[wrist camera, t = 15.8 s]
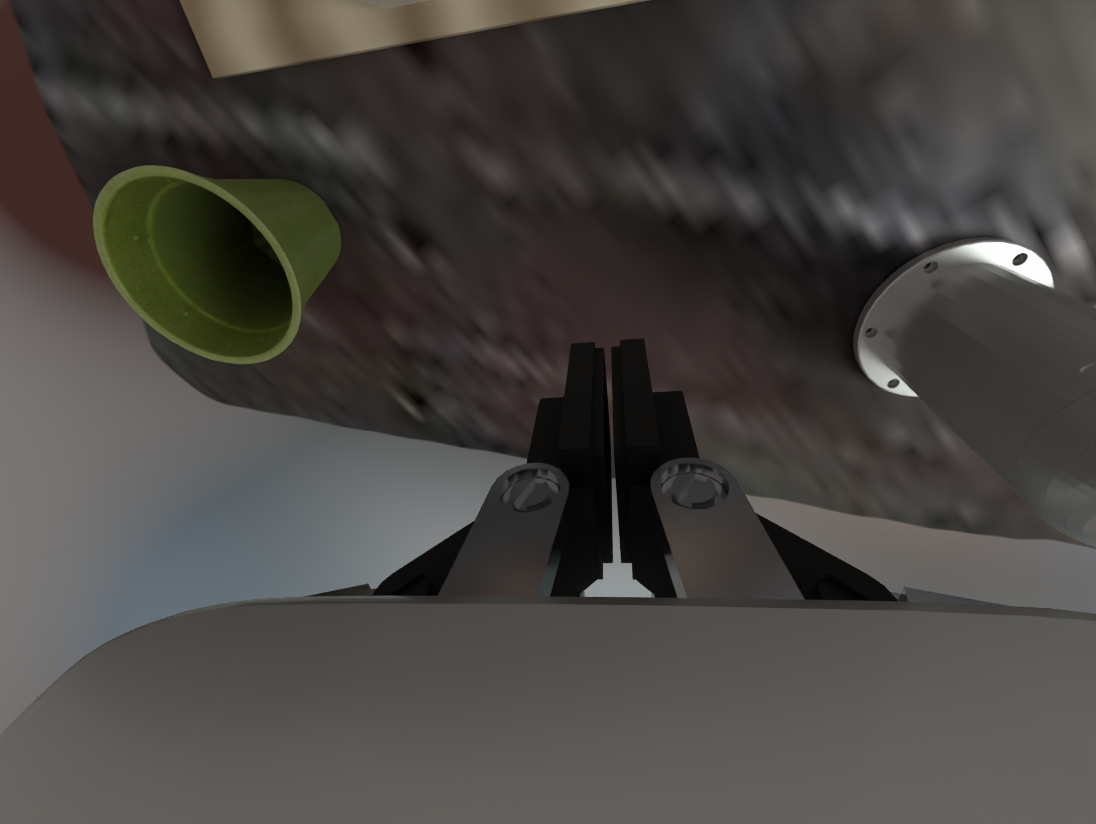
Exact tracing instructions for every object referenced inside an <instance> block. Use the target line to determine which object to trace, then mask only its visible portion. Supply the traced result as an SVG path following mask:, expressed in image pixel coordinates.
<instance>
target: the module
mask: <svg viewBox="0 0 1096 824" xmlns="http://www.w3.org/2000/svg"><path fill="white" fill-rule="evenodd" d="M359 1H362V2H365V3H367V4H370V5H373V6H376V7H379V8H382V9H387V8H392V7H397V6H403V5H408V4H413V3H418V2H424V1H429V0H359Z"/></svg>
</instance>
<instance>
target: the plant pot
mask: <svg viewBox="0 0 1096 824" xmlns="http://www.w3.org/2000/svg"><path fill="white" fill-rule="evenodd" d="M93 229H94V238H95V241H96V246H97V250H98V253H99V255H100V258H101V261H102V263H103V265H104V267H105V269H106V271H107V274H108V275H109V277H110V279H111V280H112V282H113V284H114V285H115V287H116V288H117V289H118V291H119V292H120V294H121V295H122V296H123V298H124V299H125V300H126V301H127V302H128V304H129V305H130V306H131V307H132V308H133V309H134V310H135V311H136V313H137V314H138V315H139V316H140V317H142V318H143V319H144V320H145V321H146V322H147V323H148V324H149V325H150V326H151V327H153V328H154V329H155V330H156V331H158V332H159V333H161V334H162V335H163V336H165V337H166V338H168V339H169V340H171V341H172V342H174V343H176V344H178V345H180V346H181V347H183V348H185V349H187V350H189V351H191V352H193V353H196V354H198V355H200V356H203V357H205V358H209V359H212V360H215V361H221V362H226V363H233V364H252V363H258V362H263V361H266V360H269V359H271V358H273V357H275V356H277V355H278V354H280V353H281V352H282V351H284V350H285V349H286V348H287V347H288V346H289V344H290V343H291V342H292V340H293V339H294V337H295V335H296V333H297V331H298V328H299V325H300V321H301V314H302V312H303V310H304V307H305V304H306V302H307V301H308V299H309V298H310V297H311V295H312V294H313V292H314V291H315V290H316V288H317V287H318V286H319V284H320V283H321V282H322V280H323V279H324V278H325V277H326V275H327V274H328V272H329V271H330V270H331V268H332V267H333V265H334V264H335V263H336V261H337V259H338V257H339V254H340V251H341V234H340V229H339V226H338V223H337V222H336V220H335V219H334V217H333V216H332V214H331V212H330V211H329V209H328V207H327V205H326V203H325V202H324V201H323V200H322V199H321V198H320V197H319V196H318V195H317V194H316V193H314V192H313V191H312V190H310V189H309V188H307V187H306V186H304V185H302V184H300V183H297V182H294V181H291V180H286V179H212V178H208V177H202V176H198V175H196V174H193V173H190V172H188V171H184V170H181V169H177V168H172V167H166V166H156V165H146V166H138V167H134V168H131V169H128V170H125V171H123V172H121V173H119V174H117V175H116V176H114V177H113V178H112V179H110V180H109V181H108V183H107V184H106V185H105V186H104V187H103V189H102V190H101V192H100V193H99V195H98V198H97V200H96V203H95V208H94V213H93Z"/></svg>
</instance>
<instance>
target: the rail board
mask: <svg viewBox="0 0 1096 824" xmlns="http://www.w3.org/2000/svg"><path fill="white" fill-rule="evenodd" d="M643 1H648V0H429V1H424V2H418V3H413V4H408V5H403V6H397V7H392V8H387V9H382V8H379V7H376V6H373V5H370V4H367V3H365V2H362V1H359V0H180V2H181V5H182V7H183V9H184V12H185V14H186V16H187V19H188V21H189V23H190V26H191V28H192V30H193V33H194V35H195V37H196V40H197V42H198V44H199V47H200V49H201V51H202V54H203V56H204V58H205V61H206V63H207V65H208V67H209V70H210V72H211V74H212V77H213V78H227V77H232V76H238V75H243V74H249V73H254V72H260V71H265V70H271V69H276V68H282V67H287V66H293V65H298V64H304V63H309V62H314V61H320V60H325V59H331V58H336V57H342V56H347V55H353V54H358V53H364V52H369V51H375V50H380V49H386V48H391V47H396V46H402V45H407V44H413V43H418V42H424V41H429V40H435V39H440V38H446V37H451V36H457V35H462V34H468V33H473V32H478V31H484V30H489V29H495V28H500V27H506V26H511V25H517V24H522V23H528V22H533V21H539V20H544V19H550V18H555V17H561V16H566V15H571V14H577V13H582V12H588V11H593V10H599V9H604V8H610V7H615V6H621V5H626V4H632V3H637V2H643Z"/></svg>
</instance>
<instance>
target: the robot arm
mask: <svg viewBox="0 0 1096 824" xmlns="http://www.w3.org/2000/svg"><path fill="white" fill-rule="evenodd" d="M853 349H854V355H855V359H856V361H857V363H858V365H859V367H860V369H861V370H862V371H863V373H864V374H865V375H866V376H867V377H868V378H869V379H870V380H871V381H872V382H873V383H874V384H875V385H876V386H878V387H880V388H882V389H883V390H885V391H887V392H891V393H894V394H898V395H901V396H911V397H919V398H920V399H921V400H923V401H924V402H925V403H926V404H927V405H928V406H929V407H930V408H931V409H932V410H933V411H934V412H935V413H936V414H937V415H938V416H939V417H940V418H941V419H942V420H943V421H944V422H945V423H946V424H947V425H948V426H949V427H950V428H951V429H952V430H953V431H954V432H955V433H956V434H957V435H958V436H959V437H960V438H961V439H962V440H963V441H964V442H965V443H966V444H967V445H968V446H969V447H970V448H971V449H972V450H973V451H974V452H976V453H977V454H978V455H979V456H980V457H981V458H982V459H983V460H984V461H985V462H986V463H987V464H988V465H989V466H990V467H991V468H992V469H993V470H994V471H995V472H996V473H997V474H998V475H999V476H1000V477H1001V478H1002V479H1003V480H1004V481H1005V482H1006V483H1007V484H1008V485H1009V486H1010V487H1011V488H1012V489H1013V490H1014V491H1015V492H1016V493H1017V494H1018V495H1019V496H1020V497H1021V498H1022V499H1023V500H1024V501H1025V502H1026V503H1027V504H1028V505H1029V506H1030V507H1031V508H1032V509H1033V510H1034V511H1035V512H1036V513H1037V514H1038V515H1040V516H1041V517H1042V518H1043V519H1044V520H1046V521H1047V522H1048V523H1049V524H1051V525H1052V526H1054V527H1055V528H1057V529H1058V530H1060V531H1061V532H1063V533H1065V534H1067V535H1069V536H1071V537H1073V538H1075V539H1077V540H1079V541H1081V542H1083V543H1085V544H1088V545H1090V546H1093V547H1096V301H1093V302H1082V301H1079V300H1077V299H1075V298H1073V297H1070V296H1068V295H1066V294H1064V293H1062V292H1059V291H1057V290H1055V289H1054V281H1053V277H1052V272H1051V270H1050V268H1049V267H1048V265H1047V263H1046V262H1045V260H1044V259H1043V258H1042V257H1041V256H1040V255H1038V254H1037V253H1036V252H1035V251H1034V250H1032V249H1030V248H1028V247H1025V246H1023V245H1021V244H1019V243H1016V242H1013V241H1009V240H1006V239H1003V238H992V237H977V238H967V239H962V240H958V241H954V242H950V243H946V244H943V245H941V246H938V247H936V248H934V249H931V250H929V251H926V252H924V253H923V254H921V255H919V256H917V257H916V258H914V259H912V260H910V261H909V262H907V263H906V264H904V265H903V266H902V267H900V268H899V269H898V270H896V271H895V272H894V273H893V274H891V275H890V276H889V277H888V278H887V279H886V280H885V281H884V282H883V283H882V284H881V285H880V286H879V287H878V288H877V289H876V290H875V292H874V293H873V294H872V296H871V297H870V299H869V300H868V301H867V303H866V304H865V306H864V308H863V310H862V312H861V314H860V316H859V318H858V321H857V324H856V327H855V330H854V338H853ZM611 356H612V397H613V438H614V460H615V475H616V491H617V505H618V521H619V536H620V550H621V563H632V573H633V579H636V580H637V581H638V582H639V583H641V584H642V585H643V586H644V587H646V588H647V589H648V590H649V591H651V592H652V598H641V597H637V598H636V597H585V593H584V590H585V589H586V588H588V587H589V586H590V585H591V584H592V583H594V582H595V581H596V580H597V579H603V563H613V544H612V542H613V541H612V481H611V441H610V426H609V412H608V397H607V383H606V368H605V354H604V348H595V342H588V343H574V344H571V349H570V357H569V364H568V372H567V380H566V387H565V395H564V397H561V398H543V399H540V402H539V406H538V411H537V416H536V421H535V425H534V430H533V435H532V440H531V445H530V449H529V454H528V459H527V464H523V465H519V466H516V467H514V468H512V469H510V470H507V471H506V472H504V473H503V474H502V475H501V476H499V477H498V478H497V479H496V481H495V482H494V484H493V485H492V487H491V489H490V491H489V493H488V495H487V497H486V499H485V501H484V503H483V505H482V507H481V509H480V511H479V513H478V515H477V517H476V519H475V521H473V522H472V523H470V524H469V525H467V526H465V527H464V528H462V529H461V530H459V531H458V532H456V533H455V534H453V535H451V536H450V537H449V538H447V539H445V540H444V541H442V542H441V543H439V544H438V545H436V546H434V547H433V548H431V549H430V550H428V551H427V552H425V553H424V554H422V555H421V556H419V557H417V558H416V559H414V560H413V561H411V562H410V563H408V564H407V565H405V566H403V567H402V568H400V569H399V570H397V571H396V572H395V573H393V574H392V575H390V576H389V577H388V578H386V579H385V580H384V581H383V582H382V583H381V584H380V585H379V586H378V588H376V589H371V588H370V586H369V584H364V585H359V586H354V587H350V588H344V589H339V590H334V591H329V592H324V593H319V594H314V595H310V596H304V597H287V598H267V599H254V600H245V601H238V602H229V603H222V604H217V605H212V606H208V607H203V608H198V609H194V610H189V611H185V612H181V613H178V614H176V615H173V616H169V617H166V618H163V619H160V620H157V621H154V622H151V623H148V624H146V625H143V626H141V627H138V628H136V629H134V630H131V631H129V632H127V633H124V634H122V635H120V636H118V637H116V638H114V639H112V640H110V641H108V642H106V643H104V644H102V645H101V646H99V647H98V648H96V649H95V650H93V651H92V652H90V653H89V654H87V655H85V656H84V657H83V658H82V659H80V660H79V661H78V662H77V663H75V664H74V665H73V666H72V667H70V668H69V669H68V670H67V671H66V672H65V673H63V674H62V675H61V676H60V677H59V678H58V679H57V680H56V681H55V682H54V683H53V684H52V685H51V686H49V687H48V688H47V689H46V690H45V691H44V692H43V693H42V694H41V695H40V696H39V697H38V698H37V699H35V700H34V701H33V702H32V703H31V704H30V705H29V706H28V707H27V708H26V709H25V710H24V711H23V712H22V713H21V714H20V715H19V716H18V717H17V718H16V719H15V720H14V721H13V722H12V723H11V724H10V725H9V726H8V727H7V728H6V729H5V730H4V731H3V732H2V733H1V734H0V824H1096V614H1092V613H1085V612H1076V611H1068V610H1059V609H1050V608H1033V607H1016V606H1007V605H1002V604H996V603H991V602H984V601H979V600H974V599H968V598H963V597H957V596H952V595H946V594H940V593H935V592H930V591H924V590H919V589H913V588H907V587H904V588H903V590H902V592H901V594H899V593H893V592H890V591H889V590H888V589H887V588H886V587H885V586H884V585H882V584H880V583H879V582H878V581H876V580H875V579H874V578H872V577H870V576H869V575H868V574H866V573H864V572H862V571H861V570H859V569H857V568H855V567H853V566H851V565H850V564H848V563H846V562H844V561H842V560H840V559H838V558H837V557H835V556H833V555H831V554H829V553H828V552H826V551H824V550H822V549H820V548H819V547H817V546H815V545H813V544H811V543H809V542H808V541H806V540H804V539H802V538H800V537H799V536H797V535H795V534H793V533H791V532H789V531H788V530H786V529H784V528H782V527H780V526H778V525H777V524H775V523H773V522H771V521H769V520H768V519H766V518H764V517H762V516H760V515H758V514H757V513H755V512H754V510H753V508H752V506H751V504H750V503H749V501H748V499H747V497H746V496H745V494H744V492H743V490H742V489H741V487H740V485H739V483H738V482H737V480H736V478H735V477H734V476H733V475H732V474H731V472H730V471H729V470H727V469H726V468H724V467H723V466H721V465H720V464H717V463H715V462H712V461H709V460H706V459H700V458H699V454H698V451H697V447H696V443H695V439H694V435H693V431H692V427H691V423H690V419H689V415H688V411H687V407H686V403H685V400H684V396H683V393H682V391H669V392H652V387H651V381H650V374H649V368H648V362H647V355H646V349H645V342H644V338H643V339H629V340H620V346H618V347H611Z"/></svg>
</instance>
